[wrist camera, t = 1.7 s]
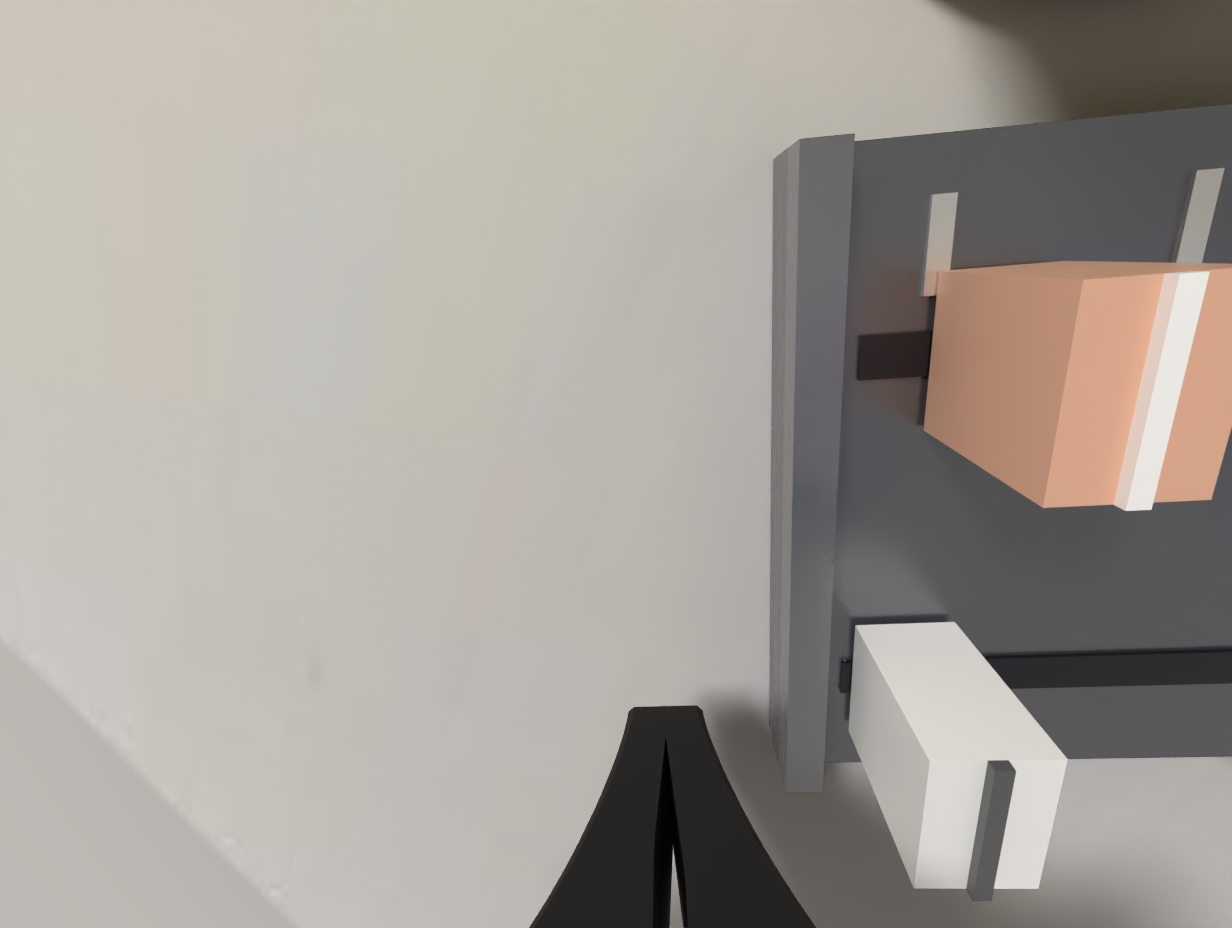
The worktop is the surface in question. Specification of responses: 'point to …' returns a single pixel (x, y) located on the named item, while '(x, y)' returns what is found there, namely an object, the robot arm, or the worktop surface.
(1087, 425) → the fader terracotta
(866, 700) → the fader white
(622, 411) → the worktop surface
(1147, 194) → the fader board
